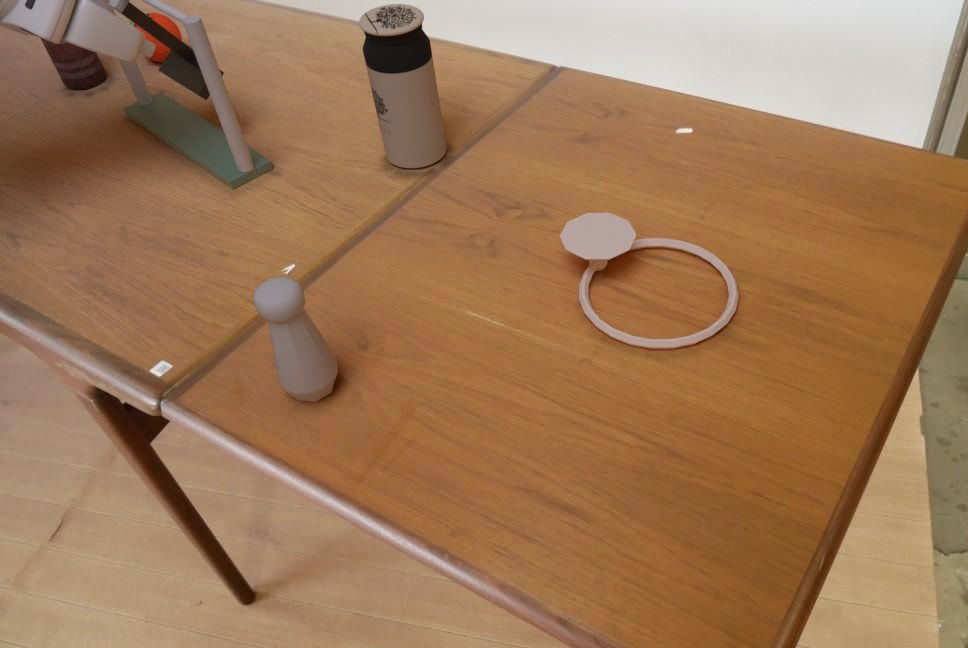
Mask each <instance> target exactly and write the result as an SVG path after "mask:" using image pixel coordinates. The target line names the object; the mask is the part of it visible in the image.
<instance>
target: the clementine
mask: <svg viewBox="0 0 968 648" xmlns="http://www.w3.org/2000/svg"><path fill="white" fill-rule="evenodd" d="M145 14H146V15H147V16H149V17H150V18H151V19H153V20H154V21H155V22H157V23H158V24H159V25H161V26H162V27H163V28H165V29H166V30H167V31H169V32H170V33H171V34H173V35H174V36H175V37H177V38H178V39H179V40H181V41H182V42H183V36H182V33H181V30H180V28H179V27H178V25H177V24H176V23H175V22H174V21H173V20H172V18H170V17H168V16H166V15H164V14H162V13H160V12H159V13H158V12H148V13H145ZM128 23H129V24H131V25H132V26H134V27H135V28H137V29H138V30H140V31H141V32H142V33H143V34H144V35H145V39H147V40H149V41H151V42H152V43H154V44H155V46H156V48H155V51H154V53H153V56H151V57H147V56H144V57H145V58H147V59H149V60H150V61H155V62H159V63H160V62H161V63H163V62H164V60H165V59H166V57H167V55H168V54H169V52H170V51H171V50H170V49H169V48H168V47H166V46H165V45H163V44H162V43H161V42H159V41H158V40H157V39H155V38H154V37H152V36H151V35H150V34H148V33H147V32H146V31H144V30H143V29H141V28H140V27H139V26H137V25H136V24H135V23H133V22H132V21H130V22H128Z"/></svg>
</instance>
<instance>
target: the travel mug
mask: <svg viewBox="0 0 968 648" xmlns="http://www.w3.org/2000/svg"><path fill="white" fill-rule="evenodd" d="M424 20H425V15H424V12H423V11H422V10H421V9H420V8H418V7H417V6H414V5H410V4H405V3H392V4H391V3H390V4H384V5H380V6H377V7H374V8H371V9H369V10H367V11H366V12H364V13H363V14H362V15H361V16H360V18H359V19H358V26H359V28H360V29H361V30H362V31H363V34H364V36H365V39H364V42H363V45H362V53H363V58H364V62H365V67H366V70H367V77H368V80H369V85H370V89H371V94H372V98H373V103H374V107H375V113H376V117H377V122H378V127H379V130H380V134H381V138H382V145H383V149H384V153H385V158H386V159H387V161H388V162H389V163H390V164H391V165H394V166H396V167H399V168H403V169H404V168H405V169H420V168H424V167H428V166H430V165H433V164H435V163H437V162H439V161H440V160H441V159H442V158H443V157H444V156H445V155H446V153H447V151H448V146H447V139H446V134H445V128H444V122H443V115H442V107H441V104H440V103H441V102H440V95H439V90H438V89H439V88H438V83H437V82H438V81H437V76H436V70H435V64H434V59H433V51H432V46H431V40H430V38H429V36H428V35H427V34H426V33H425V31H424V29H423V22H424Z"/></svg>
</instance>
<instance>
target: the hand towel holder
mask: <svg viewBox="0 0 968 648" xmlns="http://www.w3.org/2000/svg"><path fill="white" fill-rule="evenodd" d="M559 237H560V240H561V242H562V244H563V247H564V249H565V251H567V252H569V253H570V254H572V255H574V256H577V257H579V258H580V259H583V260H585V261H588V264H589V265H588V266H587V268H586V269H585V270H584V271H583V274H582V276H581V279H580V281H579V283H578V300H579V303H580V305H581V307H582V311H583V313H584V314H585V315H586V317H587V318H588V319H589V320H590V321H591V322H592V324H593V325H594V326H595V327H596V328H597V329H599V330H600V331H601V332H603V334H606V335H607V336H609V337H610V338H612V339H614V340H617V341H618V342H622V343H624V344H626V345H628V346H632V347H638V348H644V349H649V350H673V349H679V348H684V347H689V346H694V345H696V344H698V343H701V342H702V341H705V340H707V339H710V338H711V337H713V336H714V335H715V334H716V333H717V332H719V331H720V330H721V329H723V328H724V327H725V326H726V325H727V324H729V322H730V320H731V318H732V317H733V316H734V315H735V313H736V311H737V308H738V302H739V298H740V295H739V289H738V283H737V280H736V279H735V277H734V276H733V274H732V272H731V270H730V269H729V267H728V266H727V265H726V263H724V262H723V261H722V260H721V259H720V258H719V257H718V256H716V254H714V253H712V252H710V251H709V250H707V249H706V248H703V247H702V246H700V245H696V244H694V243H691V242H687V241H685V240H680V239H673V238H667V237H648V238H647V237H645V238H639V239H636V237H637V233H636V231H635V229H634V227H633V225H632V224H631V222H630V220H627V219H625V218H623V217H622V216H619V215H616V214H614V213H611V212H586V213H583V214H581V215H579V216H577V217H575V218H573V219H569V220H568V221H567V222H566V224H565V226H564V227H563V229H562V231H561V232H560V234H559ZM644 248H646V249H648V248H651V249H652V248H653V249H654V248H664V249H669V250H670V249H672V250H676V251H677V250H678V251H683V252H685V253H687V254H692V255H694V256H697V257H699V258H700V259H701V260H704V261H706V262H708V263H709V264H711V265H712V266H714V268H716V270H718V271H719V273H720V274H721V275H722V277H723V279H724V281H725V282H726V285H727V291H728V299H727V303H726V306H725V309H724V310H723V312H722V313H721V315H720V316H719V318H718V319H717V320H716V321H714V322H713V323H712V324H711V325H709V326H708V327H707V328H705V329H703V330H700V331H698V332H696V333H694V334H690V335H687V336H686V335H685V336H680V337H676V338H647V337H642V336H635V335H631V334H629V333H627V332H624V331H621V330H619V329H616V328H614V327H613V326H611V325H610V324H609V323H606V322H605V321H603V319H602V318H601V317H600V315H598V314H597V312H596V311H595V310H594V308H593V305H592V303H591V301H590V298H589V285H590V283H591V280H592V277H593V275H594V274H595V272H602V271H603V270H605V269H606V267H607V265H608V263H609V261H611V260H612V259H614V258H616V257H618V256H621V255H623V254H625V253H627V252H629V251H635V250H641V249H644Z"/></svg>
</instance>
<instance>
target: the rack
mask: <svg viewBox="0 0 968 648" xmlns="http://www.w3.org/2000/svg"><path fill="white" fill-rule="evenodd" d="M91 1H93V2H94V3H96V4H98V5H99V6H101V7H103V8H104V9H106V10H108V11H109V12H111V13H113V14H114V15H116V16H117V14H116V10H115V9H114V8H112V7H111V6H110V5H108V3H109V2H110V0H91ZM141 1H142V2H144V3H145V4H147V5H149V6H151V7H153V8H155V9H156V10H158V11H159V12H162V13H163V14H166V15H168V16H169V17H171V18H173V19H175V20H176V21H178V22H180V23H182V24H183V27H184V30H185V33H186V34H187V37H188V40H189V43H190V45H191V46H190V47H191V48H192V49H193V51H194V54H195V56H196V59H197V61H198V64H199V67H200V69H201V72H202V75H203V77H204V80H205V83H206V85H207V88H208V91H209V93H210V96H209V97H210V99H211V101H212V104H213V107H214V109H215V111H216V114H217V117H218V120H219V123H220V125H221V128H222V129H221V128H219V127H218V126H216V125H215V124H213V123H211V122H210V121H208V120H207V119H205V118H204V117H202V116H200V115H199V114H198V113H196V112H194V111H192V110H191V109H190V108H188V107H186V106H185V105H183V104H182V103H180V102H178V101H176V100H175V99H173V98H172V97H170V95H167V94H166V93H164V92H162V91H159V92H157V93H154V94H153V95H151V92H150V90H149V88H148V86H147V83H146V80H145V79H144V78H145V77H144V76H143V74H142V72H141V69H140V66H139V65H138V63H137V61H136V62H125V61H121V60H118V62H119V64H120V66H121V69H122V71H123V72H124V75H125V77H126V80H127V81H128V82H127V83H128V84H129V87H130V88H131V91H132V93H133V96H134V97H135V99H136V102H134V103H132V104H129V105H128V106H126V107H123V108H122V109H123V112H124V114H125V116H126V117H127V118H129V119H130V120H132V121H133V122H135V123H136V124H137V125H139V126H141V127H142V128H144V129H145V130H146V131H148V132H149V133H151V134H152V135H154V136H155V137H156V138H158V139H159V140H160V141H162V142H164V143H165V144H167V145H168V146H169V147H171V148H173V149H174V150H175V151H177V152H178V153H179V154H181V155H182V156H184V157H186V158H187V159H188V160H190V161H191V162H193V163H195V164H196V165H197V166H199V168H201V169H203V170H204V171H206V172H207V173H209V174H210V175H211V176H213V177H215V178H216V179H217V180H219V181H220V182H222V183H223V184H225V185H226V186H227V187H229V188H230V189H232V190H236V189H237V188H239V187H241V186H243V185H245V184H247V183H248V182H251V181H253V180H254V179H257V178H259V177H261V176H262V175H264V174H266V173H267V172H270V171H272V170H273V169H274V167H273V164H272V161H271V159H268V158H267V157H265V156H263V155H262V154H260V153H259V152H257V151H256V150H254V149H252V148H251V147H249V146H248V145H247V142H246V140H245V136H244V133H243V131H242V128H241V125H240V122H239V120H238V117H237V114H236V111H235V109H234V105H233V103H232V100H231V97H230V94H229V92H228V89H227V86H226V84H225V80H224V78H223V76H222V75H221V72H220V70H221V69H220V67H219V64H218V61H217V59H216V56H215V53H214V51H213V47H212V45H211V42H210V39H209V36H208V34H207V31H206V28H205V25H204V23H203V19H202V17H201V16H200V15H197V14H192V15H188V14H187V13H184V12H183V11H181V10H179V9H177V8H175V7H173V6H171V5H169V4H167V3H165V2H164V1H161V0H141Z"/></svg>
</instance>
